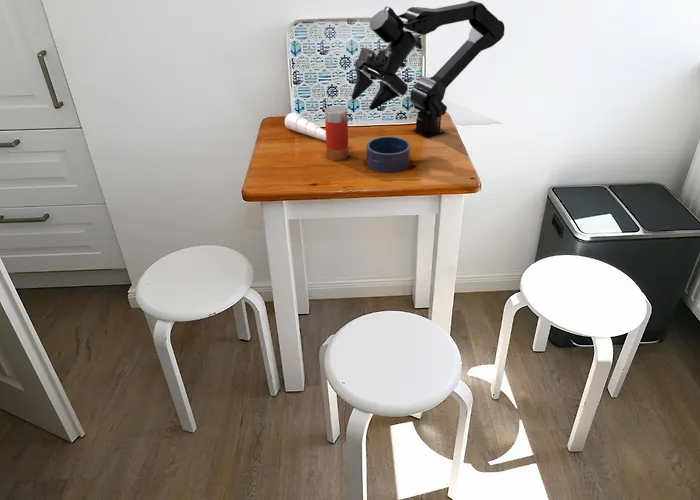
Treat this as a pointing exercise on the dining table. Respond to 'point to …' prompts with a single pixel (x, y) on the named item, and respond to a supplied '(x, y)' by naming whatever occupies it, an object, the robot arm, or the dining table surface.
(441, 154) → the dining table surface
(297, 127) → the unicorn horn
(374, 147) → the pot
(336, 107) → the tin
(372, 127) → the dining table surface
